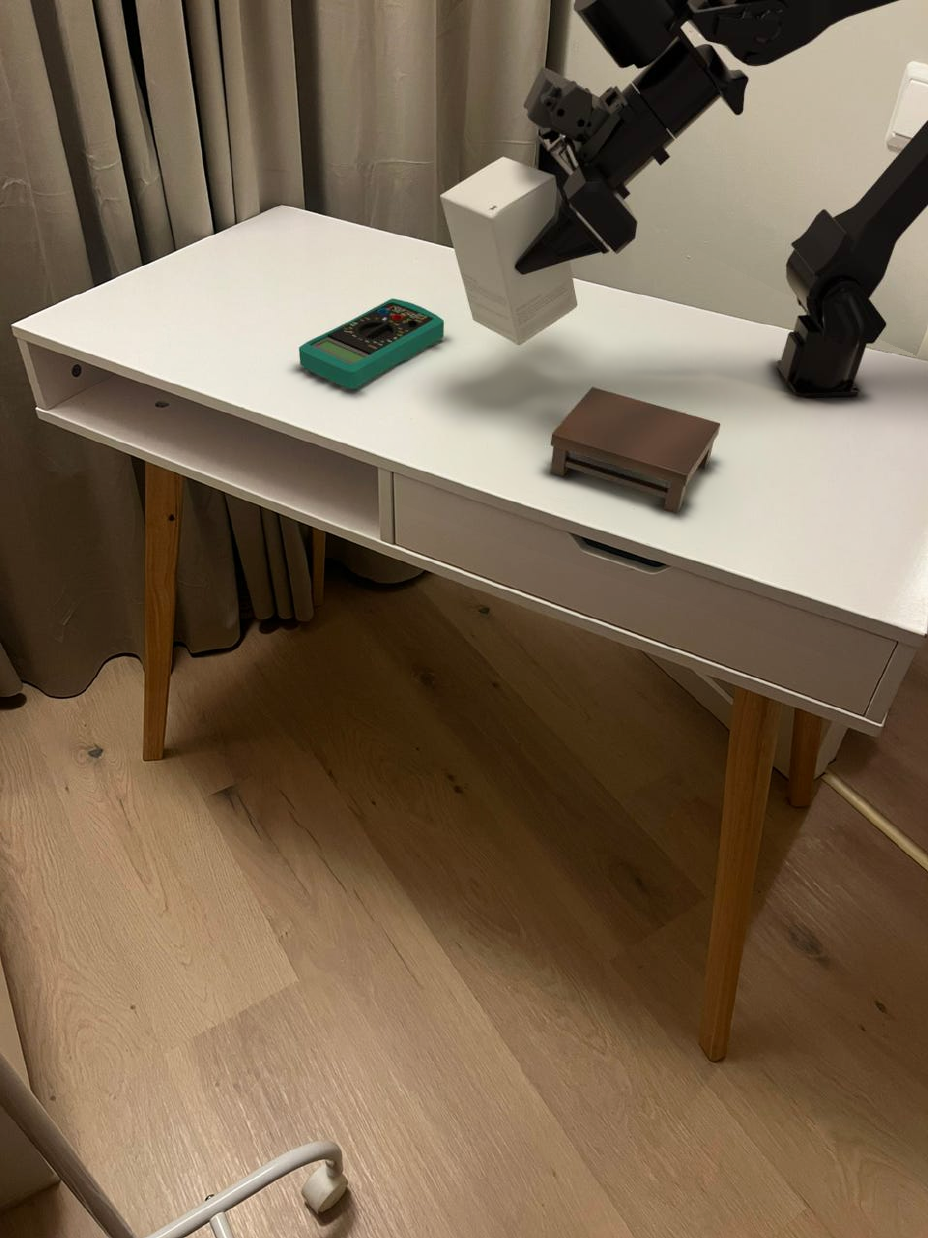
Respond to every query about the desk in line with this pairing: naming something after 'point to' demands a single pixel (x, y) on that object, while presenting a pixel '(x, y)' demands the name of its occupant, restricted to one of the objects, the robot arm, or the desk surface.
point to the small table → (634, 443)
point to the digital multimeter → (371, 343)
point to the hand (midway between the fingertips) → (511, 247)
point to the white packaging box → (507, 249)
